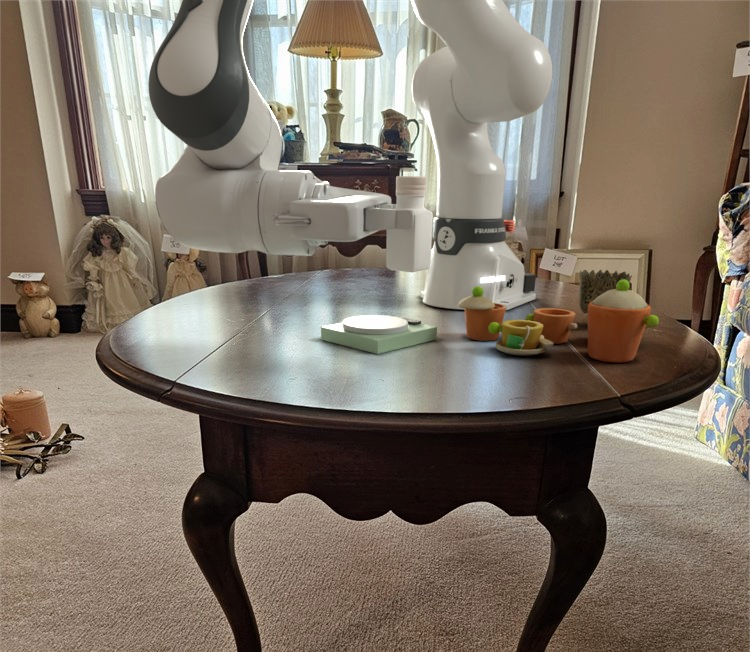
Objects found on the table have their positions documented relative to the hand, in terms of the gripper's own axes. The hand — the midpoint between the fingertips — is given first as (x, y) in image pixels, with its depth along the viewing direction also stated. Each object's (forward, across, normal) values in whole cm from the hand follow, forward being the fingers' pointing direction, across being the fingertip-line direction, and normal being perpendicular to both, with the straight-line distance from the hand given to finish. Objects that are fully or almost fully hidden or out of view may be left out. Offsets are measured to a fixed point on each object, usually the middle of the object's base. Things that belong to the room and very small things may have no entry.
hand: (418, 217), depth 71 cm
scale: (-7, +13, +17) cm, 22 cm away
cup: (+24, +30, +17) cm, 42 cm away
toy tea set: (+17, +14, +17) cm, 28 cm away
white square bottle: (-1, 0, +6) cm, 6 cm away
